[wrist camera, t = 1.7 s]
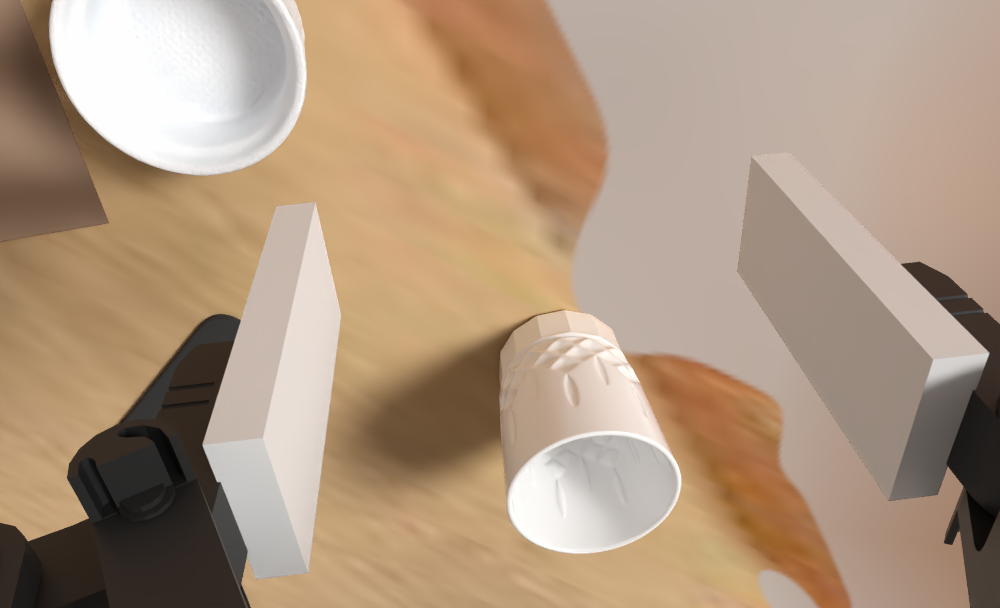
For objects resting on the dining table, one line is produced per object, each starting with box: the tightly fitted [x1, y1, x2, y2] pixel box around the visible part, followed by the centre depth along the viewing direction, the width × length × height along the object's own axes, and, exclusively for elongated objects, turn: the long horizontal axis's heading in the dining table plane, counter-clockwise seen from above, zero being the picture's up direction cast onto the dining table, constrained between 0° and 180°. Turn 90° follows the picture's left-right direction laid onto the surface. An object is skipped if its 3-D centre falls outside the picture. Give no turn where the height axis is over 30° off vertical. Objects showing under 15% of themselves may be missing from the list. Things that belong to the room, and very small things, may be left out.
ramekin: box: [49, 0, 307, 176], centre depth 30 cm, size 9×9×4 cm
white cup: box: [499, 310, 681, 554], centre depth 39 cm, size 8×8×10 cm
